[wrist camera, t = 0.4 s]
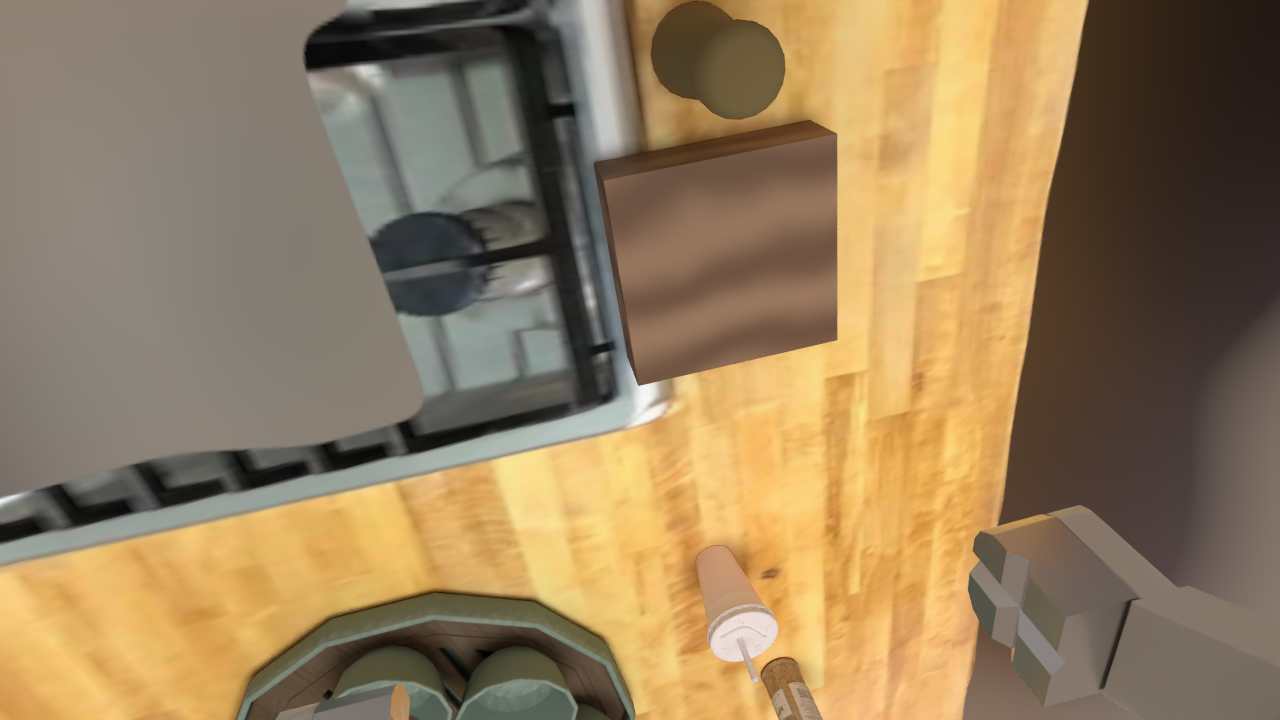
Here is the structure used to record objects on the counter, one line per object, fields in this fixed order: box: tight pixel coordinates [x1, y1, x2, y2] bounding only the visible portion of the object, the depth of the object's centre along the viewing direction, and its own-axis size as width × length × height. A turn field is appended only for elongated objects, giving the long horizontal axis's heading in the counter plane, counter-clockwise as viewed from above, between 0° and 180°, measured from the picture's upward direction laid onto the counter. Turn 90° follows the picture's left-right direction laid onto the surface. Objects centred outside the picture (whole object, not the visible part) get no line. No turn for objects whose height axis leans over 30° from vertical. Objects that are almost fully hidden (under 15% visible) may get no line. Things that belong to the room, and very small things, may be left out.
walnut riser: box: [594, 120, 837, 386], centre depth 54 cm, size 16×16×5 cm
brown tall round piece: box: [651, 1, 785, 120], centre depth 44 cm, size 6×6×11 cm
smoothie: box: [696, 545, 778, 682], centre depth 66 cm, size 6×6×14 cm
